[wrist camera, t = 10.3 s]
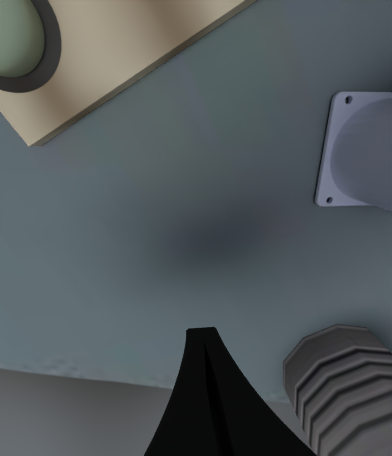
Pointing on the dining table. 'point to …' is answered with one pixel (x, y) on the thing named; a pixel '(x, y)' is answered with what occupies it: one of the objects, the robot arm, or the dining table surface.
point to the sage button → (19, 37)
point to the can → (342, 391)
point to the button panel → (101, 56)
